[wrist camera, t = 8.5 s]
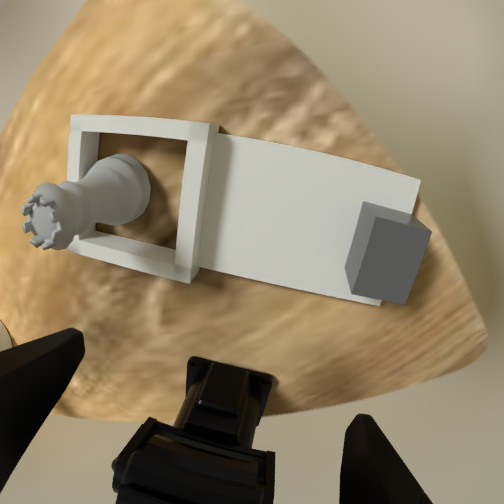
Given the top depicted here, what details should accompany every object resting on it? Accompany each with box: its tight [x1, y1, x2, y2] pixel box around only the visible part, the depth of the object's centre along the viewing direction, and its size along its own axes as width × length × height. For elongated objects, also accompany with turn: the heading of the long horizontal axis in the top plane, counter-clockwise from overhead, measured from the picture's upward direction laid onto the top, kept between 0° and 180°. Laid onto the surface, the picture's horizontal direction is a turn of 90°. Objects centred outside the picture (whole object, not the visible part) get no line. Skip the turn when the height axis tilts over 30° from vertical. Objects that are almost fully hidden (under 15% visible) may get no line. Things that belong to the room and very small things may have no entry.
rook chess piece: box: [21, 154, 151, 250], centre depth 15 cm, size 4×4×8 cm
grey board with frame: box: [67, 114, 432, 306], centre depth 16 cm, size 9×20×4 cm, turn 80°
